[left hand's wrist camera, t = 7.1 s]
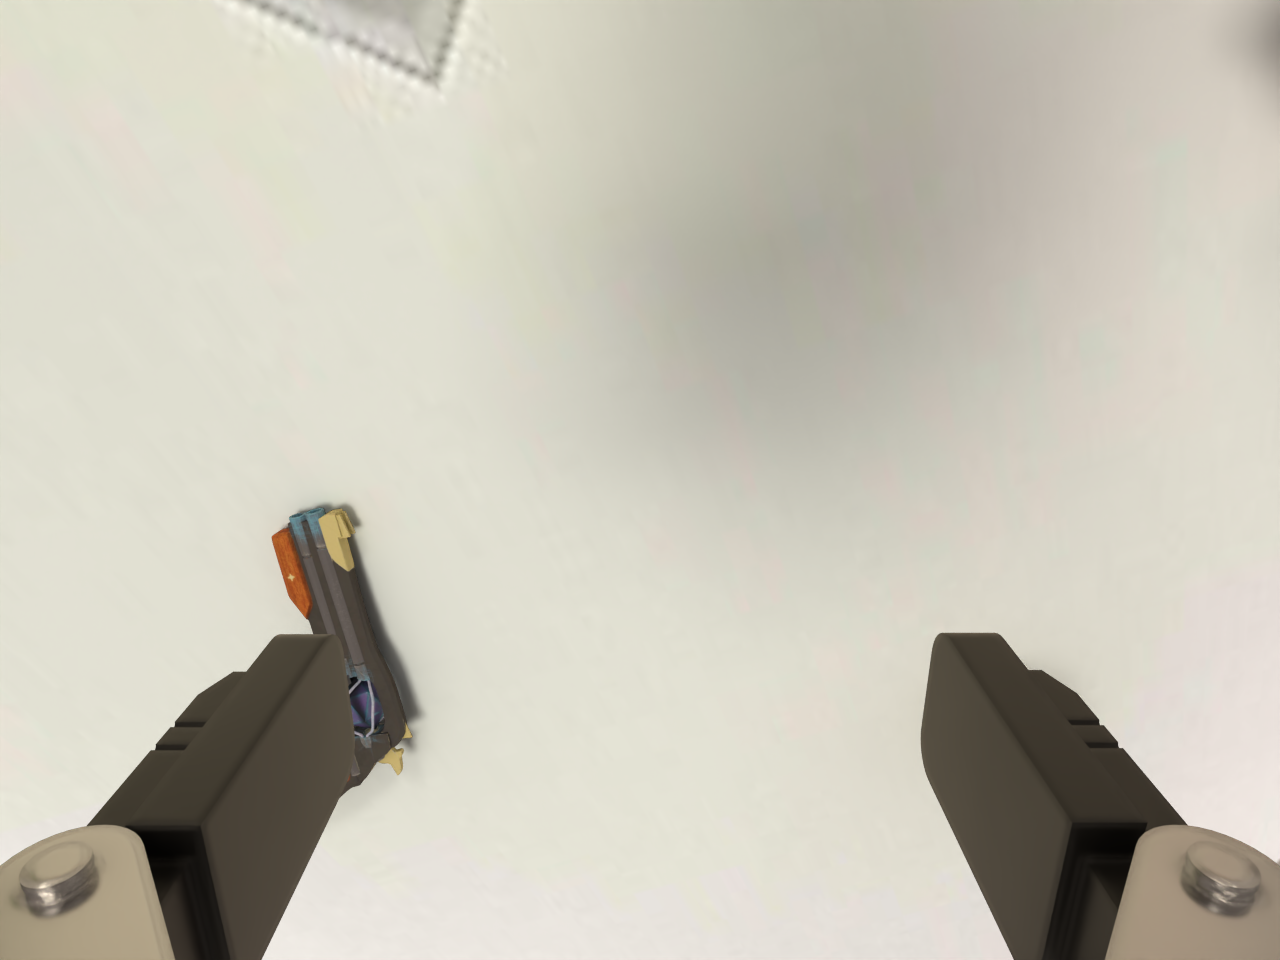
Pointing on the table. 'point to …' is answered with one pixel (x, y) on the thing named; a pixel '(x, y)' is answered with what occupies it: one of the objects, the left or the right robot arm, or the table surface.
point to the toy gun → (344, 630)
